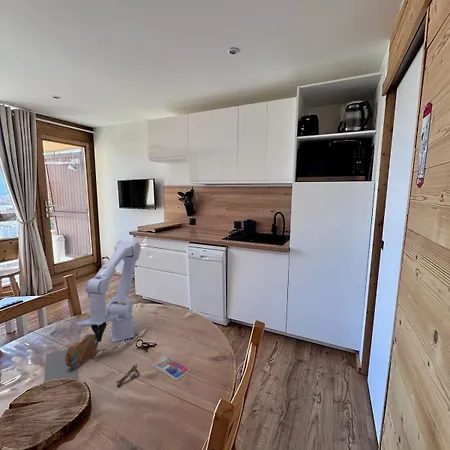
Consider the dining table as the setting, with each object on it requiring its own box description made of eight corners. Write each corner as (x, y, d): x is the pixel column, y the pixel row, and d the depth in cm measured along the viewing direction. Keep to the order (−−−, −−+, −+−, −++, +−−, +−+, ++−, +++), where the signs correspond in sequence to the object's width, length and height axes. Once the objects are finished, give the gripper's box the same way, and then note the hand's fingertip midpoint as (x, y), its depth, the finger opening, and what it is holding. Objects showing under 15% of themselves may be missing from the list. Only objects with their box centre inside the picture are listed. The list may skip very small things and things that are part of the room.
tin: (71, 373, 94) (71, 350, 93) (63, 371, 94) (63, 349, 93) (99, 350, 108) (99, 330, 108) (92, 348, 109) (92, 329, 108)
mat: (75, 347, 110) (75, 347, 109) (78, 379, 91) (78, 378, 91) (46, 355, 104) (46, 354, 104) (43, 390, 86) (43, 389, 86)
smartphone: (164, 354, 106) (191, 369, 97) (164, 356, 106) (191, 371, 97) (149, 362, 100) (176, 379, 91) (149, 365, 100) (176, 382, 91)
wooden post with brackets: (142, 372, 94) (137, 364, 92) (123, 391, 89) (118, 383, 87) (139, 370, 95) (135, 361, 94) (121, 389, 90) (115, 381, 88)
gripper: (77, 316, 95) (79, 351, 97) (119, 308, 103) (120, 340, 104) (76, 309, 101) (77, 342, 102) (116, 301, 109) (117, 332, 110)
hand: (99, 340), depth 104 cm, fingers closed
